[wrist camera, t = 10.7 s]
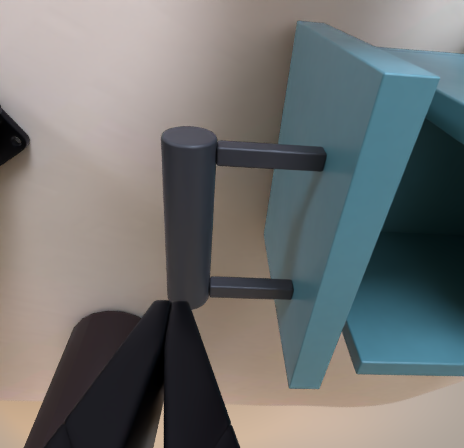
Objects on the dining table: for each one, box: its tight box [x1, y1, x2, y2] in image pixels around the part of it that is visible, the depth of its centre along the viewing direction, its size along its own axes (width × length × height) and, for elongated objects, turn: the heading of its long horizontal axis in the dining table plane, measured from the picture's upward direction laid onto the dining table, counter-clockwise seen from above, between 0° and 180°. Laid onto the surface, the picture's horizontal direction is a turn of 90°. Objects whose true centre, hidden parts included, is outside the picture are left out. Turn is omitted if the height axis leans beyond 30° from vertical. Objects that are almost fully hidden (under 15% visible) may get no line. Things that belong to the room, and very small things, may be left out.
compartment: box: [161, 21, 464, 389], centre depth 15 cm, size 18×11×10 cm, turn 86°
